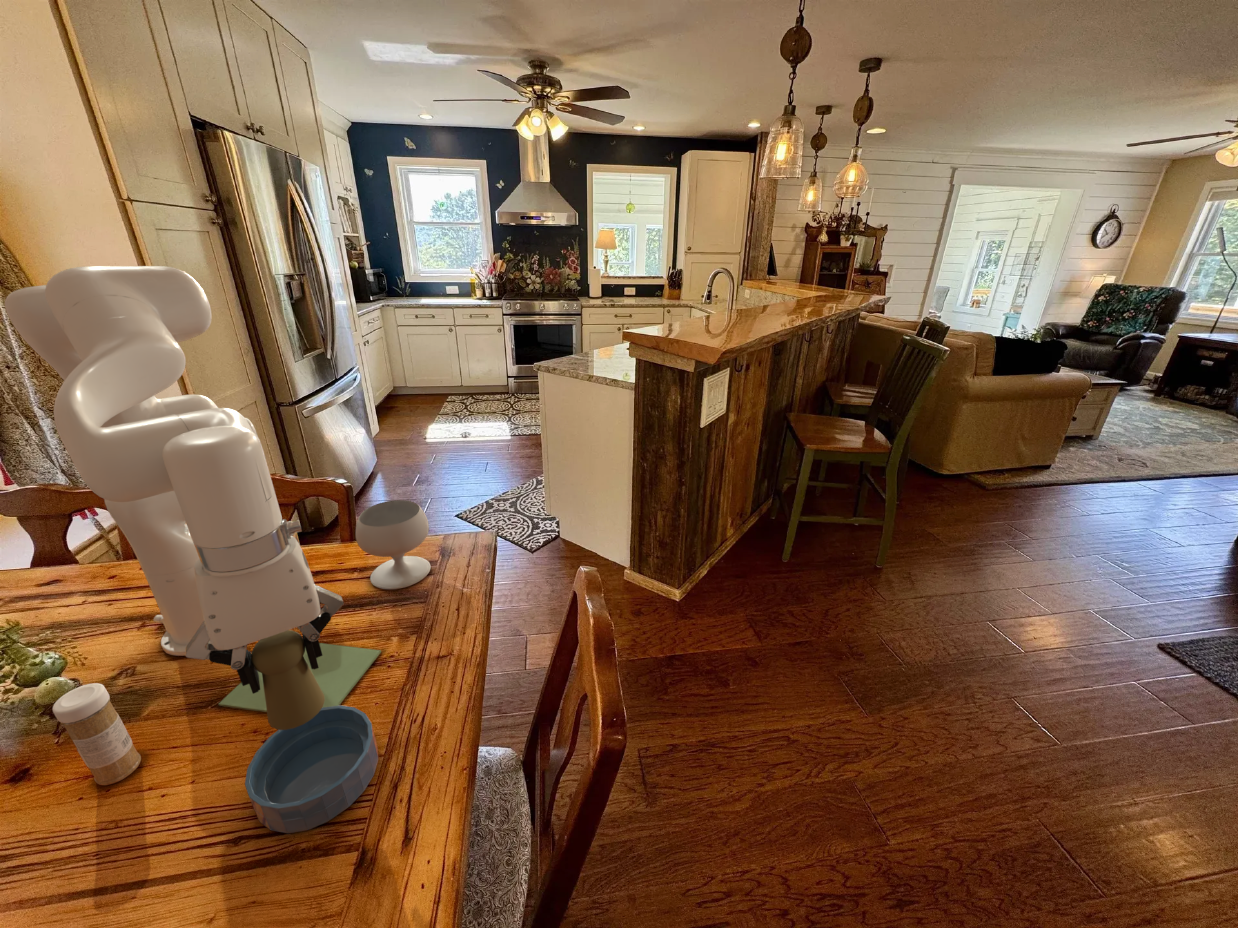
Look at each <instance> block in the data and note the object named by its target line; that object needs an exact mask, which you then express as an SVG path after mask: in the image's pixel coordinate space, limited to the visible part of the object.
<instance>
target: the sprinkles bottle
mask: <svg viewBox="0 0 1238 928" xmlns="http://www.w3.org/2000/svg"><path fill="white" fill-rule="evenodd" d="M51 710H52V713H53V714H54V716H55V718H56V720H57V721H58V722H59V723H61V724H62V725H63V727H64V729H65V731H67V734H68V736H69V738H70V739H71V741H72V743H73V744H74V746H75V748H76V751H77V752H78V754H79V756H80V757H81V759H82V761H83V762H84V764H85V765H86V767H87V768H88V769H89V771H90V772H91V774H92V776H93V777H94V782H95V783H96V784H97V785H100V786H108V785H112V784H115V783H118V782H120V781H122V780H124V779H126V778H127V777H129V776H130V775H131V774H132V773H134V771H136V770H137V769H138V767H139V765H140V764H141V761H142V756H141V754H140V753H139V752H138V750H137V749H136V746H135V745H134V743H133V739H132V738H131V736H130V733H129V732H128V730H127V728H126V726H125V725H124V723H123V721H122V718H121V717H120V715H119V714H118V712H117V711H116V709H115V707H114V706H113V704H112V702H111V698H110V694H109V692H108V691H107V688H106V687H105V685H104V684H102V683H99V682H94V683H87V684H83V685H80V686H78V687H76V688H73V689H71V690H70V691H67V692H66V693H64V694H63V695H62V696H61V697H59V698H58V699H57V700H56V701H55V703H53V705H52V709H51Z"/></svg>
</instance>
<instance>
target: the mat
mask: <svg viewBox="0 0 1238 928" xmlns="http://www.w3.org/2000/svg"><path fill="white" fill-rule="evenodd" d="M319 644H320V648H321V651H322V655H323V656H320V657H318V658H316V659H317V663H318V667H319V668H317V669H315V670H314V669H312V668H311V665H310V662H309V658H308V655H307V651H306V648H305V652H304V655H303V657H304V658H305V660H306V662H307V664H308V666H309V668H310V670H311V672H312V673H313V675H314V677H315V679H316V681H317V683H318V685H319V686H320V688H321V690H322V692H323V694H324V698H325V701H324V704H323V707H331V706H339V705H340V706H341V704H342V702H343V701H344V700H345V699H346V698H347V696H348V695H349V693H351V691H352V690H353V689H354V688H355V686H356V685H357V683H358V682H359V681H360V680H361V679H362V677H363V676H364V675H365V673H366V672H367V671H368V670H369V668H370V667H371V666H372V665H373V663H374V662H375V661H376V659H377V658H378V657H380V654H382V650H381V649H373V648H363V647H357V646H356V647H355V646H347V645H339V644H332V643H331V644H330V643H324V642H323V643H322V642H319ZM258 674H259V682H260V690H258V692H256V693H254V694H253V693H252V690H251V687H250V685H249V684H248V685H245V686H243V685H242V683H241V682H240V683H239V684H238V685H237V686H236V687H234V688H233V690H231V691H230V692H229V693H228V694H227V695H226V696H225V697H224V698H223V699H221V701H220V702H219V703H218V706H220V707H226V708H232V709H241V710H246V711H254V712H260V713H267V709H266V701H265V693H264V685H263V678H262V673H261V672H258ZM323 707H322V708H323Z"/></svg>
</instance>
